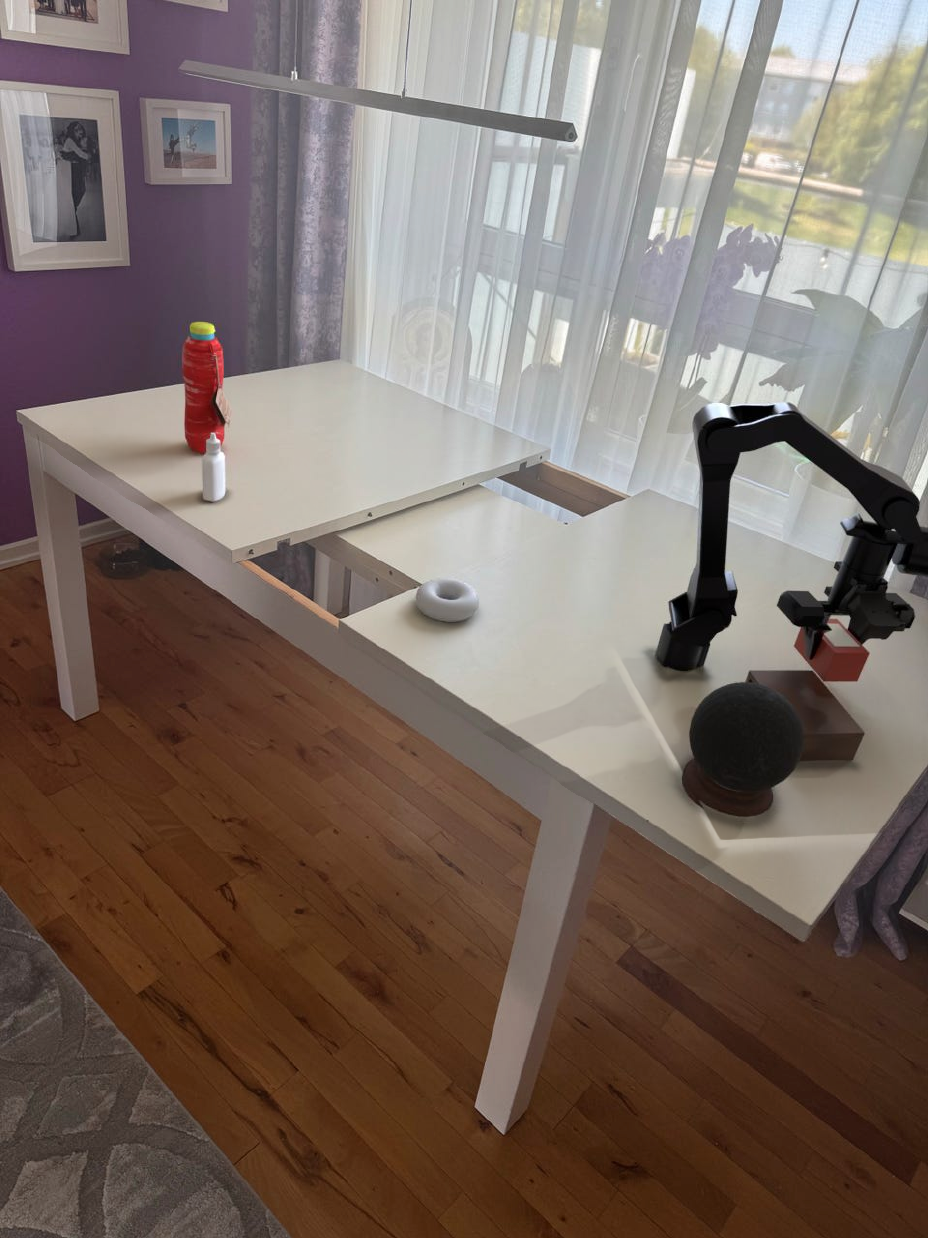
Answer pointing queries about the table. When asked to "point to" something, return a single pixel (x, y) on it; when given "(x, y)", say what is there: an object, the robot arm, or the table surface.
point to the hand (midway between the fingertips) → (826, 658)
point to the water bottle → (204, 387)
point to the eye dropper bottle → (213, 470)
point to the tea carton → (836, 654)
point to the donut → (458, 602)
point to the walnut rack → (815, 714)
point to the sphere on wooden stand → (741, 748)
